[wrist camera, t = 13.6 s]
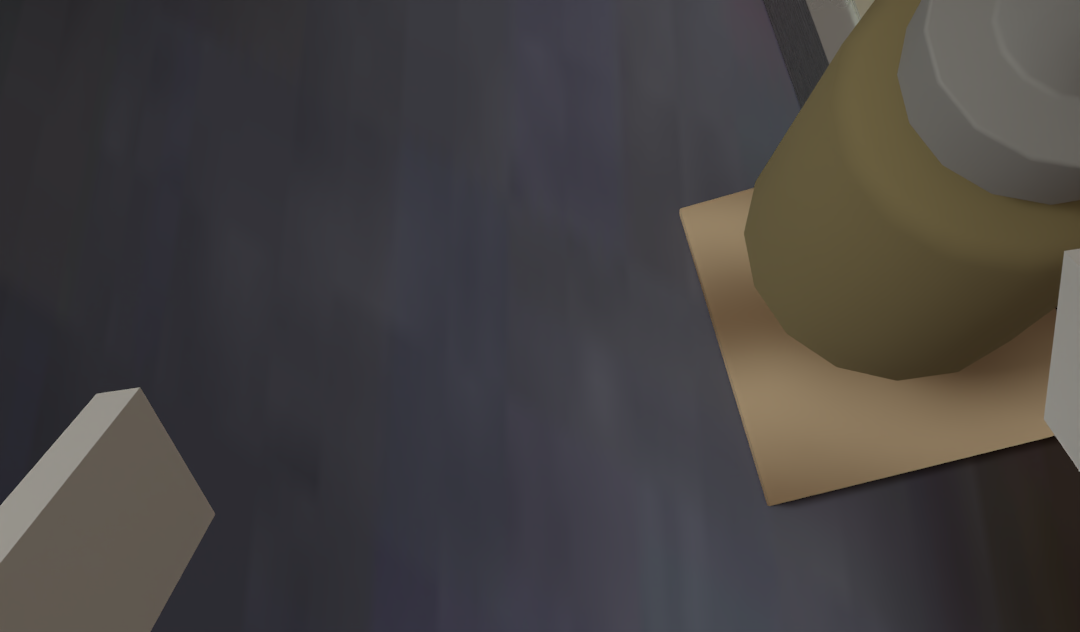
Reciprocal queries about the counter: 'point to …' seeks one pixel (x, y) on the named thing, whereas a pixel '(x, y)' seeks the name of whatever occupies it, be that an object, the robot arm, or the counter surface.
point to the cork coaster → (851, 384)
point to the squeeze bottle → (926, 187)
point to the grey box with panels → (812, 35)
